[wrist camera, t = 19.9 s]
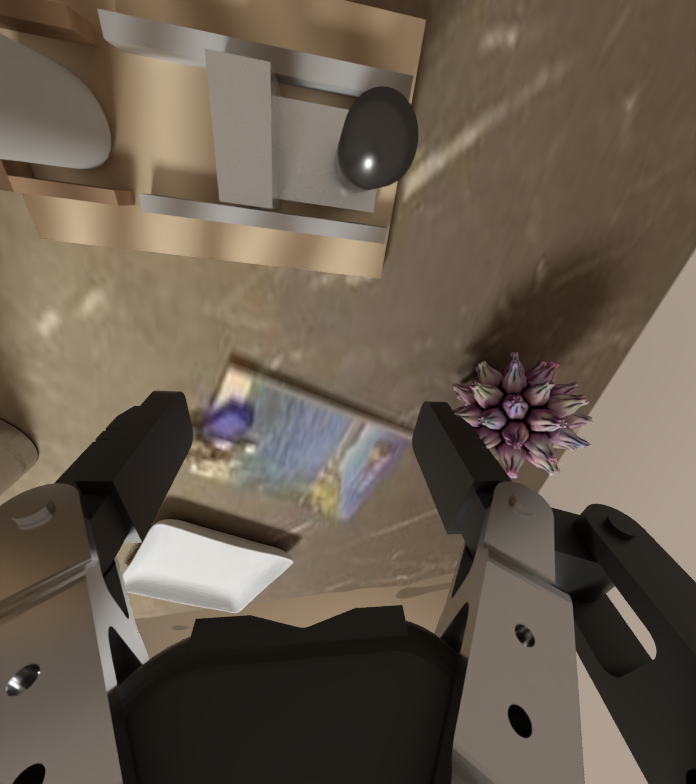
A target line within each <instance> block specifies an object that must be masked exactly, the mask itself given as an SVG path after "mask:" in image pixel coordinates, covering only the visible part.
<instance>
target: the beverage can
mask: <svg viewBox="0 0 696 784" xmlns="http://www.w3.org/2000/svg"><path fill="white" fill-rule="evenodd" d="M110 150H111V134H110V130H109V125H108V122H107V120H106V117H105V115H104V112H103V110H102V108H101V106H100V105H99V103H98V101H97V99H96V98H95V96H94V94H93V93H92V92H91V91H90V89H89V88H88V87H87V86H86V84H85V83H84V82H83V81H82V80H81V79H80V78H79V77H78V76H77V75H75V74H74V73H73V72H72V71H71V70H69V69H68V68H66V67H64V66H62V65H60V64H58V63H56V62H54V61H52V60H51V59H49V58H47V57H45V56H43V55H41V54H39V53H37V52H35V51H33V50H31V49H29V48H27V47H26V46H24V45H22V44H20V43H18V42H16V41H14V40H12V39H10V38H8V37H6V36H4V35H2V34H1V33H0V159H5V160H14V161H22V162H30V163H37V164H45V165H53V166H60V167H68V168H75V169H83V170H88V169H95V168H97V167H99V166H101V165H103V164H104V162H105V161H106V160H107V158H108V157H109V153H110Z"/></svg>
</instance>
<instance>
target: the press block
mask: <svg viewBox="0 0 696 784" xmlns="http://www.w3.org/2000/svg"><path fill="white" fill-rule="evenodd" d="M204 49H205V48H204ZM205 59H206V69H207V79H208V89H209V99H210V110H211V120H212V130H213V140H214V150H215V160H216V170H217V180H218V191H219V201H221V202H228V203H235V204H242V205H249V206H257V207H264V208H271V209H274V208H281V199H283V200H289V201H296V202H303V203H310V204H317V205H324V206H330V207H337V208H344V209H351V210H358V211H365V212H371V213H373V211H374V204H375V198H376V191H377V188H381V187H385V186H389V185H391V184H393V183H395V182H396V181H398V180H399V179H400V178H401V177H402V176H403V175H404V174H405V173H406V172H407V170H408V169H409V167H410V165H411V163H412V161H413V159H414V156H415V153H416V149H417V144H418V125H417V119H416V116H415V113H414V110H413V108H412V106H411V104H410V103H409V101H408V100H407V98H406V97H405V96H404V95H403V94H401V93H400V92H399V91H397V90H395V89H393V88H390V87H385V86H380V87H374V88H371V89H369V90H367V91H365V92H364V93H362V94H361V95H360V96H359V97H358V98H357V99H356V100H355V102H354V103H353V104H352V106H351V107H350V109H349V110H347V109H342V108H336V107H331V106H326V105H321V104H316V103H310V102H305V101H300V100H295V99H289V98H284V97H280V87H279V84H278V81H277V79H276V76H275V73H274V71H273V68H272V65H271V63H270V62H268V61H263V60H258V59H253V58H249V57H244V56H239V55H234V54H229V53H224V52H219V51H215V50H210V49H205Z"/></svg>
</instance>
